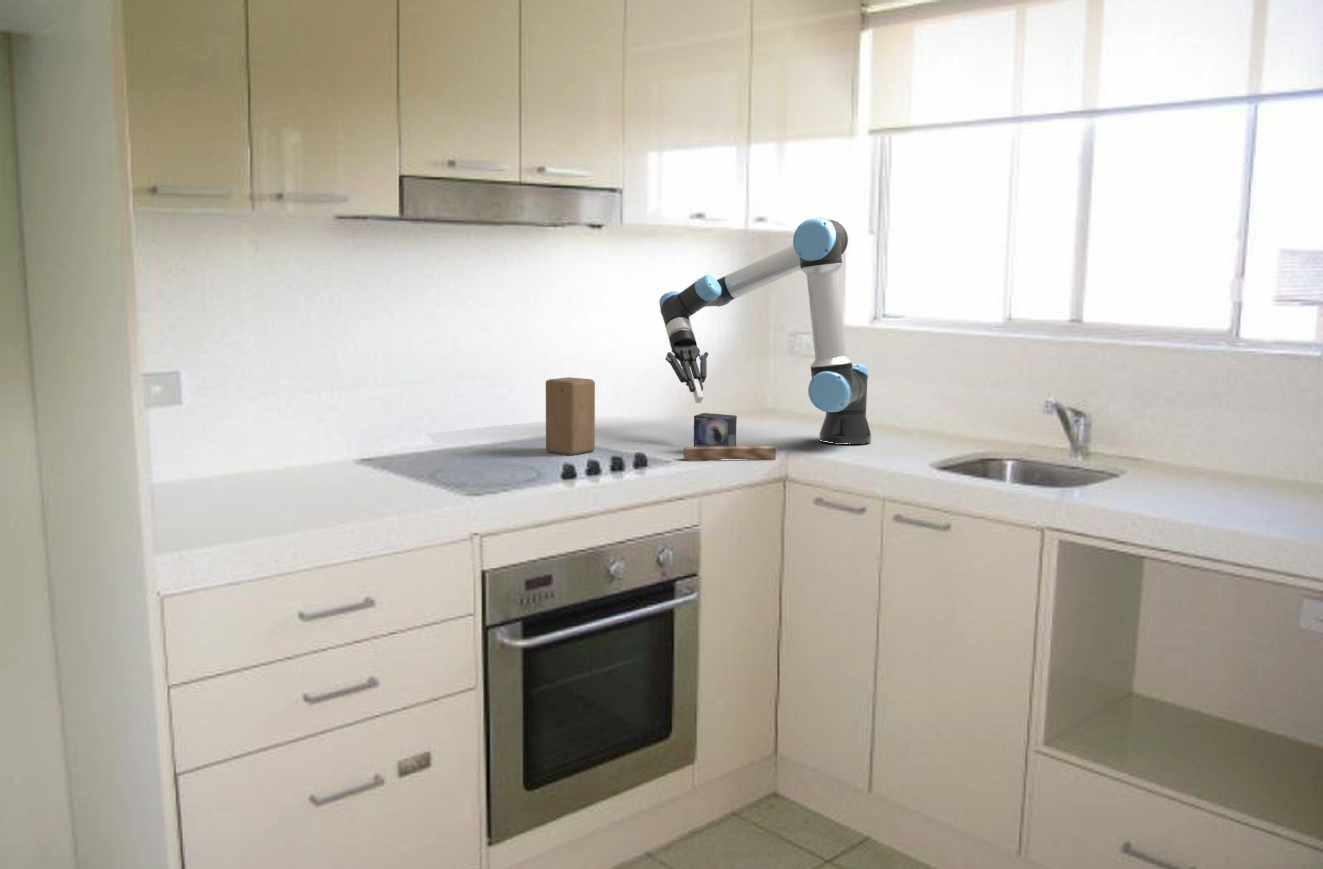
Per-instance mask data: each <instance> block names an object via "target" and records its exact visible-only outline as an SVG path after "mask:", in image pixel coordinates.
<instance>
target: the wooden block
mask: <svg viewBox="0 0 1323 869" xmlns="http://www.w3.org/2000/svg"><path fill="white" fill-rule="evenodd" d="M595 398H596V382H595V380H593V379H591V378H581V377H580V378H579V377H560V378H551V379H547V380H545V451H546V452H548V453H550V452H552V454H558V455H564V454H565V455H567V456H577V455H582V454H587V453H593V452H594V451H595V446H596V444H595V443H596V442H595V441H596V439H595V438H596V436H595V434H596V432H595V431H596V429H595V428H596V424H595V422H596V421H595V420H596V418H595V417H596V416H595V415H596V413H595V412H596V411H595V410H596V399H595Z"/></svg>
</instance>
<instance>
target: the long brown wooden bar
mask: <svg viewBox="0 0 1323 869" xmlns="http://www.w3.org/2000/svg"><path fill="white" fill-rule="evenodd" d="M776 449H777V448H776V447H775V446H773V445H742V446H739V445H736V446H712V447H694V446H684V447H683V459H684V461H686V462H708V461H707V460H721V459H747V460H746V461H775V460H776V456H777V455H776V451H777V450H776Z"/></svg>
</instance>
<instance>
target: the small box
mask: <svg viewBox="0 0 1323 869" xmlns="http://www.w3.org/2000/svg"><path fill="white" fill-rule="evenodd" d="M737 418H738V416H737V415H734V414H732V415H731V414H721V413H710V412H703V413H699V414H696V415H693V447H712V446H737Z"/></svg>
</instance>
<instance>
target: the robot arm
mask: <svg viewBox="0 0 1323 869" xmlns="http://www.w3.org/2000/svg"><path fill="white" fill-rule="evenodd" d="M848 236H849V235H848V232H847V230H846V229H845V227H844V226H843V225H842V224H841V223H840V222H838V221H837V220H832V219H826V218H823V217H813V218H809V219H806V220H804V221H803V222H801V223H800V224H799V225H798V226H797V228H796V230H795V231H794V234H793V238H792V241H793V242H792V244H791V245H790V246H787V247H785V248H783V249H780V250H778V251H776V252H774V253H772V254H770V255H768V256H766V257H763V258H761V259H759V260H756V261H754V262H753V263H750V264H748V265H746V266H743V267H742V268H740V269H737V270H735V271H733V272H731V273H729V274H727V275H724V276H722V277H720V278H717V279H716V278H715V277H713V276H712V275H711V274H705V275H704V276H701V277H700V278H698V279H697V280H696V281H694V282H693V283H692V284H690V285H689V286H687V287H686V288H685V289H684V290H682V291H681V292H679V291H678V290H677V291H676V290H671V291H670V292H665V293H664V294H663V295H662V296H661V297H660V298H659V300H658V302H659V308H660V310H659V311H660V314H661V317H662V320H663V323H664V326H665V331H666V335H667V337H668V341H669V346H670V349H671V351H668V352H667V354H666V356H665V358H664V359H665V361H666V362H668V363H669V365H670V366H671V368H672V370H673V371H674V373H675V375H676V376H677V378H678V380H679V381H680V383H682V384H683V383H685V386H687V387H688V391H689V392H690V393H692V394H693V397H694V398H693V399H694V401H695V403H696V404H701V403H702V401H703V398H704V395H703V391H704V385H703V383H705V381H706V378H707V370H708V369H707V366H708V364H707V363H708V362H707V359H708V356H709V352H706V351H704V352H702V351H701V350H700V348H698V344H697V340H696V337H695V334H694V330H693V327H692V323H691V320H690V318H691V316H693V315H694V314H696V313H697V312H699V311H700V310H702V309H703V308H706V307H723V306H726V305H728V304H729V303H731V301H733V300H735V299H737V298H740V297H743V295H747V294H749V293H751V292H753V291H755V290H757V289H760V288H762V287H764V286H766V285H769V284H771V283H774V282H775V281H778V280H780V279H782V278H784V277H787V276H789V275H792V274H793V273H795V272H798V271H800V270H801V271H802V272H803V273H804V274H805V275H806V279H807V290H808V292H807V293H808V299H809V300H808V301H809V310H810V312H809V313H810V320H811V329H812V330H811V332H812V341H813V349H814V350H813V351H814V352H813V353H814V361H813V362H812V364H811V365H810V373H811V374H810V375H811V379H810V381H809V383H808V384H809V385H808V387H807V388H808V389H807V391H808V392H807V394H808V398H809V400H810V402H811V403H812V405H813V406H815V408H816V409H818V410H820V411H822V412H825V416H824V420H823V422H822V426H821V428H820V432H819V434H818V435H819V439H820V440H822V441H828V442H833V443H848V444H849V443H850V444H862V445H864V444H863V443H869V444H871V443H872V434H871V430H870V426H869V422H868V419H867V400H868V398H867V397H868V396H867V394H868V379H869V375H868V373H869V372H868V368H867V366H866V365H864V364H857V363H853V361H851V359H849V358H848V357H847V356H846V355H847V354H846V345H845V344H846V343H845V334H844V327H843V326H844V325H843V324H844V323H843V316H842V315H843V314H842V305H841V304H842V303H841V294H840V285H839V284H840V283H839V282H840V281H839V275H838V272H839V269H840V268H841V267H842V265H843V259H842V256H843V254H844V253H845V251H846V250H847V247H848V243H849V237H848ZM697 358H699V361H700V364H699V365H700V366H699V365H698V362H697ZM870 442H871V443H870Z"/></svg>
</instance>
